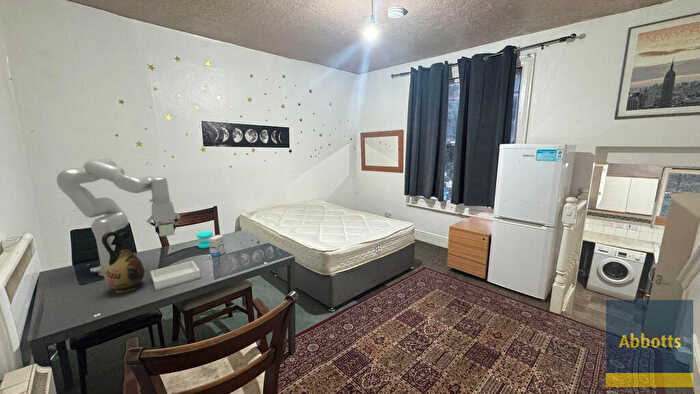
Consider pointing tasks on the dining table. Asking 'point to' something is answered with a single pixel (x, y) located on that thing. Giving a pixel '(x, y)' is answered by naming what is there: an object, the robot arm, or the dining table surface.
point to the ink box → (216, 245)
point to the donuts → (204, 236)
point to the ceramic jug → (122, 264)
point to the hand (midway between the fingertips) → (166, 231)
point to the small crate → (166, 229)
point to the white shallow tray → (174, 275)
